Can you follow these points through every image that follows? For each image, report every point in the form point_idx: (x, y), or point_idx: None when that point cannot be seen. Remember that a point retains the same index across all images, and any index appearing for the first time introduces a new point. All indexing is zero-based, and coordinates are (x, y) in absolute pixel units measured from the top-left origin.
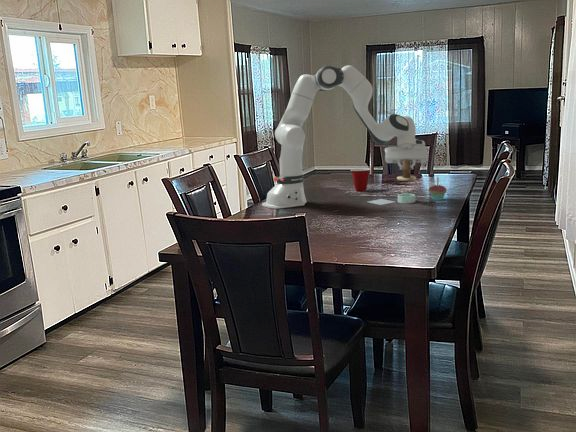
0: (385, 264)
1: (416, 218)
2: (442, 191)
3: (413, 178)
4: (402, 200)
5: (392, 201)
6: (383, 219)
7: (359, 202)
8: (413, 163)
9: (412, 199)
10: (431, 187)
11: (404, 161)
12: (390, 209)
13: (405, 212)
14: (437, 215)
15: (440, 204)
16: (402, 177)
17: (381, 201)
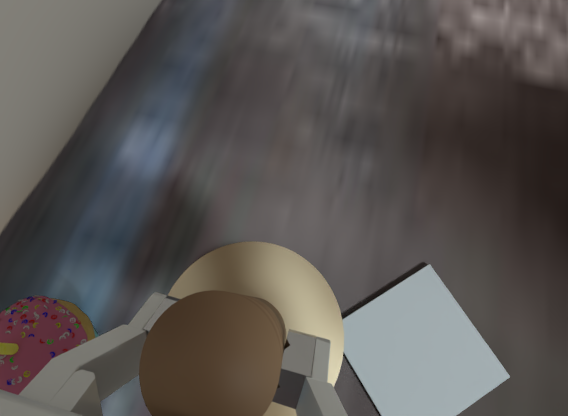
0: None
1: (311, 2)
2: (28, 297)
3: (206, 254)
4: None
5: (348, 342)
6: (441, 10)
7: (551, 397)
8: (113, 339)
9: None
10: None
11: (262, 314)
12: (387, 168)
13: (330, 98)
14: (218, 28)
15: (117, 218)
16: None
17: (414, 361)
